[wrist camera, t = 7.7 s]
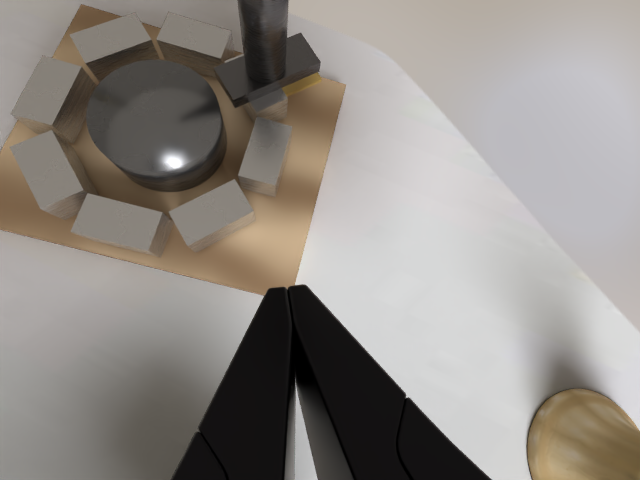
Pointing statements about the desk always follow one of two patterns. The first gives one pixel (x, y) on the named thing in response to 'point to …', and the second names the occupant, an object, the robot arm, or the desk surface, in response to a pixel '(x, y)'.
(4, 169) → the oak board
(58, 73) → the block ring with rod
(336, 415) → the robot arm
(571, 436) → the hand bell
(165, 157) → the grey metal puck
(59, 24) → the desk surface
